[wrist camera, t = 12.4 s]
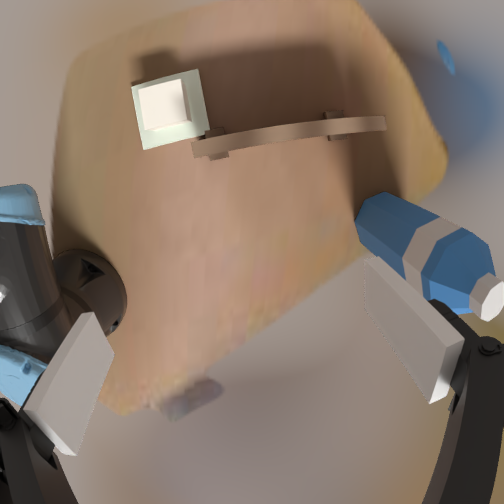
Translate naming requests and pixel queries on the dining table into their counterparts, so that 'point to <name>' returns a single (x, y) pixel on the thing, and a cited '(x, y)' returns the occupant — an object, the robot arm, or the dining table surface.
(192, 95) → the coaster
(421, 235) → the water bottle
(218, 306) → the dining table surface
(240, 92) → the dining table surface
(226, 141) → the walnut screen
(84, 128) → the dining table surface
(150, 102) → the white cube
